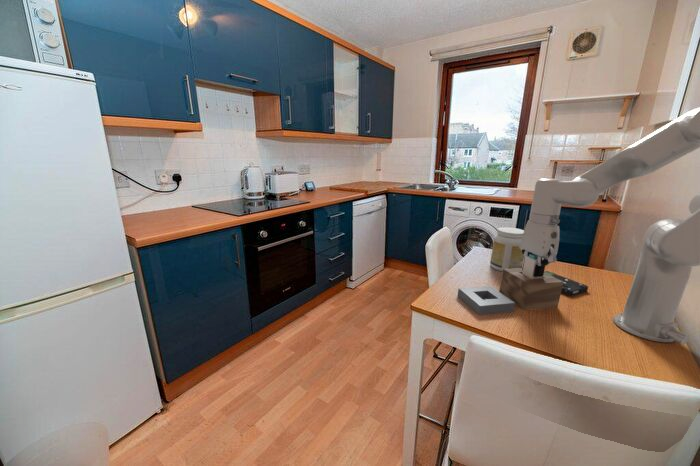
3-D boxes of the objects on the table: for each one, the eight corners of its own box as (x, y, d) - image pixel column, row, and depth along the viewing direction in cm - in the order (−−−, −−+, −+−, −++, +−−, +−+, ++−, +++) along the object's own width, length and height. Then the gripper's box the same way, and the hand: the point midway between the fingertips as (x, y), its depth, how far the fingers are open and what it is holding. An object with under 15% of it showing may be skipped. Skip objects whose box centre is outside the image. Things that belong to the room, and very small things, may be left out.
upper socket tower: (557, 307, 92) (563, 281, 89) (524, 310, 90) (530, 284, 87) (528, 290, 103) (533, 267, 101) (499, 292, 101) (503, 268, 98)
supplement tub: (521, 266, 125) (528, 229, 120) (521, 276, 115) (529, 235, 110) (490, 260, 131) (496, 225, 126) (488, 269, 121) (494, 231, 116)
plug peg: (540, 288, 93) (546, 256, 90) (529, 289, 93) (535, 257, 90) (530, 282, 97) (536, 252, 94) (520, 283, 96) (525, 253, 93)
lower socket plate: (513, 311, 89) (515, 302, 88) (478, 314, 87) (480, 305, 86) (488, 293, 100) (490, 285, 99) (457, 295, 98) (458, 287, 97)
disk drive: (587, 293, 103) (545, 276, 116) (589, 286, 102) (547, 270, 115) (569, 298, 99) (528, 280, 112) (571, 291, 98) (530, 274, 111)
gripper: (578, 225, 81) (564, 283, 86) (532, 213, 97) (523, 263, 102) (556, 225, 80) (543, 285, 85) (513, 213, 96) (504, 264, 101)
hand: (532, 272), depth 94 cm, fingers closed on plug peg, 4 cm apart
